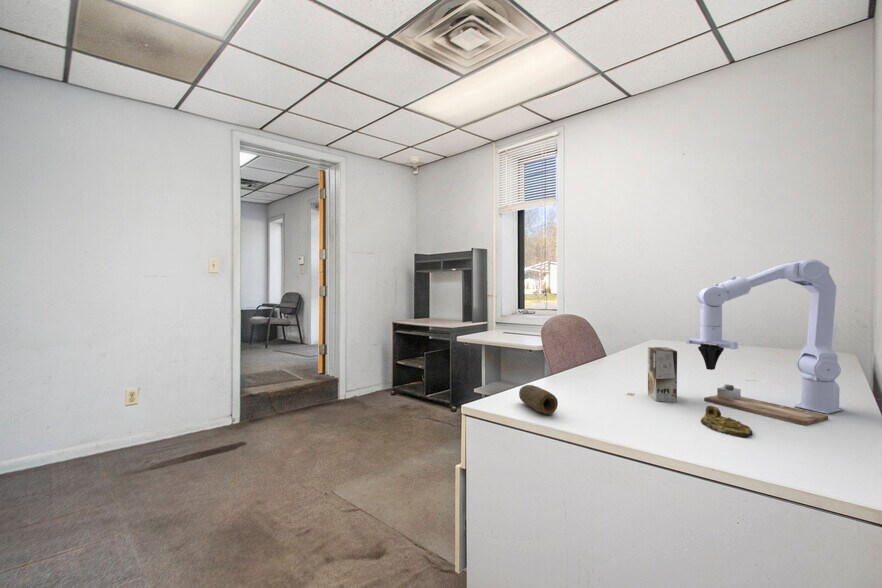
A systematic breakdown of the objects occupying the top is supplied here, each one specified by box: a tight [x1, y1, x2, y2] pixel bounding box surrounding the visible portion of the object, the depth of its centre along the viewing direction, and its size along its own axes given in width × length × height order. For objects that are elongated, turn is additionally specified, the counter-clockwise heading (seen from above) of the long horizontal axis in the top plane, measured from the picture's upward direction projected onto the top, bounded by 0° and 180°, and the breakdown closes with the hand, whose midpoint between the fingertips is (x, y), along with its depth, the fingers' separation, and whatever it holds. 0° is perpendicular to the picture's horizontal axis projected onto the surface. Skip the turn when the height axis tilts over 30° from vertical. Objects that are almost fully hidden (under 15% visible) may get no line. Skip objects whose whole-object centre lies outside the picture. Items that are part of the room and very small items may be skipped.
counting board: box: [703, 394, 829, 426], centre depth 120 cm, size 12×26×1 cm, turn 25°
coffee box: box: [647, 346, 678, 403], centre depth 133 cm, size 9×6×16 cm
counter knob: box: [716, 384, 742, 401], centre depth 129 cm, size 5×4×4 cm
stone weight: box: [518, 384, 559, 416], centre depth 122 cm, size 15×7×7 cm, turn 18°
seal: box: [700, 405, 753, 438], centre depth 105 cm, size 9×5×15 cm
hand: (710, 369), depth 128 cm, fingers closed
